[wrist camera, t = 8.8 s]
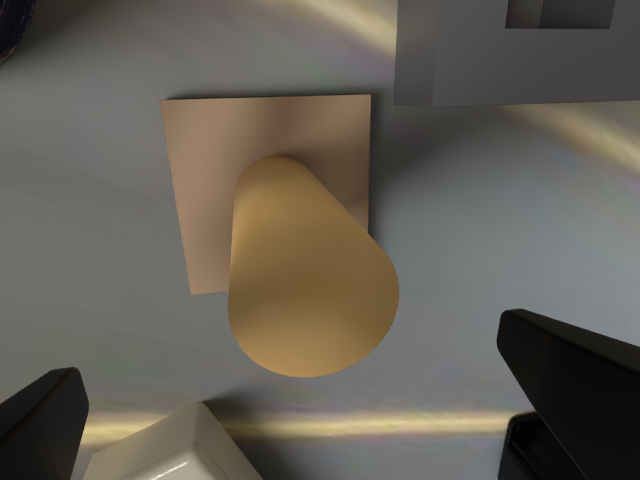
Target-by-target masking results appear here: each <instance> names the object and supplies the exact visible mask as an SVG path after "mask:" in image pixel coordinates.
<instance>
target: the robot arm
mask: <svg viewBox="0 0 640 480" xmlns="http://www.w3.org/2000/svg"><path fill="white" fill-rule="evenodd" d="M497 348H498V350H499V352H500V354H501V356H502V357H503V359H504V360H505V362H506V364H507V365H508V367H509V369H510V370H511V372H512V373H513V375H514V377H515V378H516V380H517V381H518V383H519V385H520V386H521V388H522V390H523V391H524V393H525V394H526V396H527V398H528V399H529V401H530V402H531V404H532V405H533V407H534V408H535V410H536V411H537V413H538V414H534V415H529V416H524V417H518V418H514V419H512V420H511V421H510V422H509V424H508V429H507V434H506V439H505V444H504V449H503V454H502V459H501V464H500V469H499V474H498V480H640V347H638V346H635V345H632V344H629V343H626V342H623V341H620V340H617V339H614V338H611V337H608V336H605V335H602V334H598V333H595V332H592V331H589V330H586V329H583V328H580V327H577V326H574V325H571V324H568V323H565V322H561V321H558V320H555V319H552V318H549V317H546V316H543V315H540V314H537V313H534V312H531V311H528V310H525V309H512V310H505V311H504V312H503V313H502V314H501V317H500V323H499V329H498V334H497ZM88 410H89V402H88V397H87V394H86V391H85V387H84V384H83V381H82V377H81V374H80V372H79V370H78V369H77V368H75V367H69V368H61V369H54V370H51V371H49V372H48V373H46V374H45V375H43V376H42V377H40V378H39V379H37V380H36V381H34V382H33V383H31V384H30V385H28V386H27V387H25V388H24V389H22V390H21V391H19V392H18V393H16V394H15V395H13V396H12V397H10V398H9V399H7V400H6V401H4V402H2V403H1V404H0V480H70V479H71V476H72V472H73V468H74V464H75V461H76V457H77V453H78V449H79V446H80V442H81V438H82V434H83V431H84V427H85V423H86V419H87V416H88Z"/></svg>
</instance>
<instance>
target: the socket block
mask: <svg viewBox="0 0 640 480" xmlns="http://www.w3.org/2000/svg"><path fill="white" fill-rule="evenodd" d="M508 1H509V0H398V20H397V44H396V67H395V91H394V105H405V106H420V107H454V106H484V105H513V104H542V103H572V102H601V101H630V100H640V0H544V5H543V11H542V17H541V24H540V29H505V24H506V16H507V9H508Z"/></svg>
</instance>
